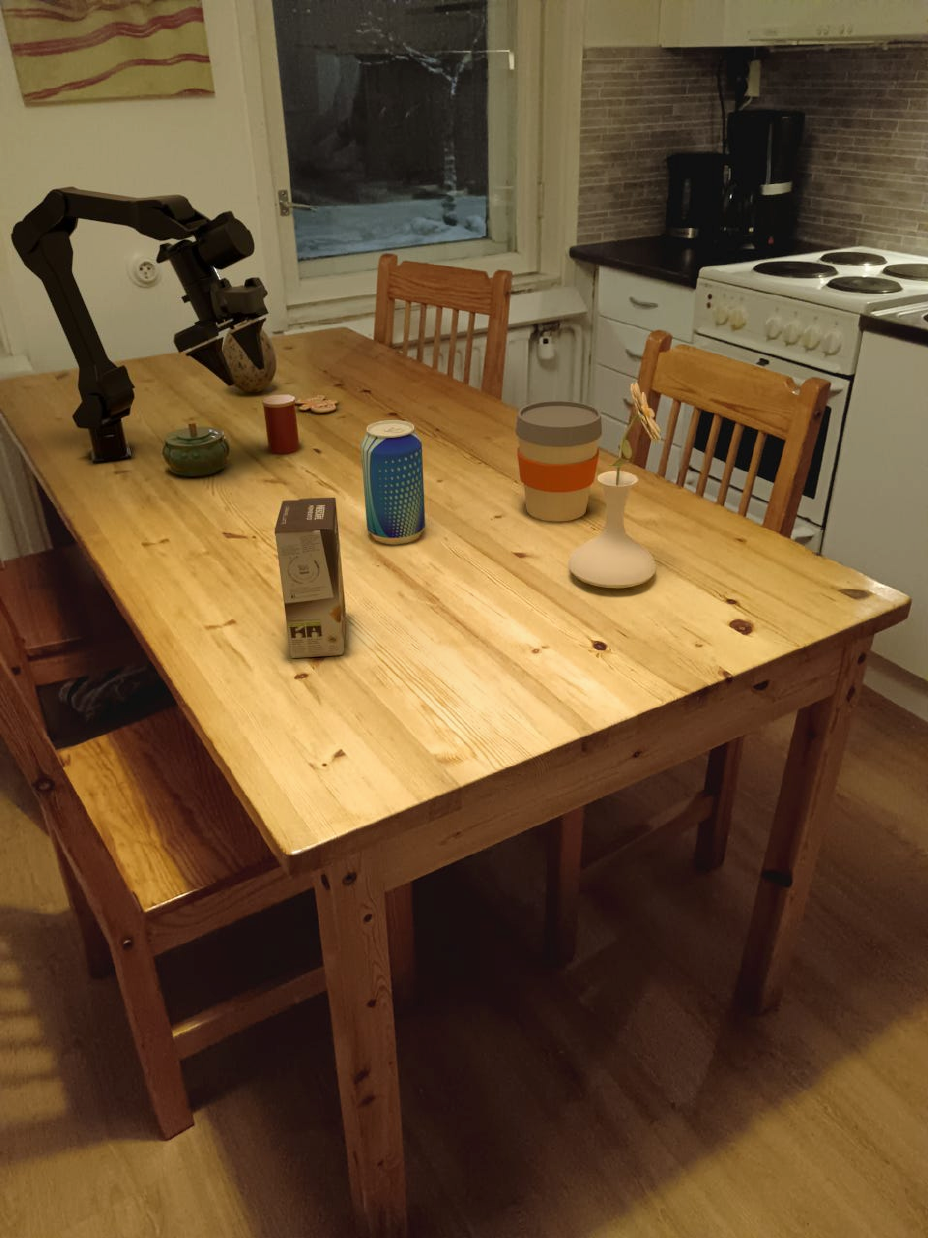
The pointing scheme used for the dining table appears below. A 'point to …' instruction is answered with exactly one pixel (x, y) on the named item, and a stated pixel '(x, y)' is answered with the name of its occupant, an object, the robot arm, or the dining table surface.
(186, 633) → the dining table surface
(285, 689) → the dining table surface
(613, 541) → the flower in vase
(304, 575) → the coffee box
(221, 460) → the lidded pot
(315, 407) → the cookie
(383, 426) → the beer can
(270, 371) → the decorative egg
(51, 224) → the robot arm
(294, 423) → the tea canister
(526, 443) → the reusable coffee cup
